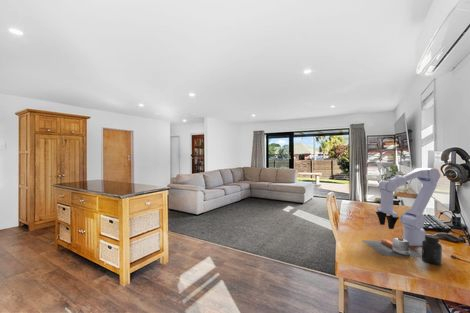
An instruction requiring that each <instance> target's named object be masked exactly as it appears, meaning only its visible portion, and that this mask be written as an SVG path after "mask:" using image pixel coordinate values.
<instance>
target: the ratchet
mask: <svg viewBox="0 0 470 313" xmlns="http://www.w3.org/2000/svg"><path fill="white" fill-rule="evenodd" d="M380 241H381V243H383V244H384V245H386V246H388V247H389V248H391V249H392V251H393V252H394V253H395V254H398V255H402V256H401V257H403V256H410V250H409V251H399V250H397V249H395V248H394V247H393V242H391V240H390V239H387V238H381V239H380Z"/></svg>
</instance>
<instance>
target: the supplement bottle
mask: <svg viewBox="0 0 470 313" xmlns="http://www.w3.org/2000/svg"><path fill="white" fill-rule="evenodd" d="M442 253H443V245H442V244H441V243H440V237H439V236H437V235H434V234H426V235H425V240H424V241H422V246H421V255H422V257H421V261H423V262H424V263H426V264H429V265H434V266H441V265H442V262H443V259H442V258H443V254H442Z"/></svg>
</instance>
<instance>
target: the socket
mask: <svg viewBox="0 0 470 313" xmlns="http://www.w3.org/2000/svg"><path fill="white" fill-rule="evenodd" d="M392 241H393V247H394V248H395V249H397V250H399V251H409V248H410V245H409V242H408V241H406V240H404V239H403V238H402V237H393V238H392Z"/></svg>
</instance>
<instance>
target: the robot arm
mask: <svg viewBox="0 0 470 313" xmlns="http://www.w3.org/2000/svg"><path fill="white" fill-rule="evenodd" d="M440 177H441V173H440V170H439V169H437V168H435V167H417V168H414V169H413V170H411V171H410V172H408V173H405V174H404V175H398V174H396V175H394V177H392V178H387V179H386V180H382V181H379V183H378V185H377V187H378V189H379V192H380V206H379V207H378V206H377V208H376V211H375V214H376V216H377V218H378V222H379V225H381V226H384V225H385V223H386V220H387V226H388V229H389V230H394V228H395V225H396V223H397V221H398V220H399V221H400V222H401V225H402V226H403V238H402V239H404V240H406V241H408V242H409V246H413V247H414V246H416V247H418V246H419V247H422V241H424V240H425V235H427V233H426V231H425V229H424V225H425V220H426V216H424V214H423V213H424V211H425V209H426V207H427V206H428V204H429V202H430V201H431V198H432V196H433V194H434V192H435V191H436V188H437V186H438V182H439V179H440ZM414 179H417V180H418V181H419V182H420V184H422V186H421V187H420V190H419V191H418V194H417V196H416V198H415V199H414V202H413V203H412V205H411V207H410V209H407V210H405V211H404V213H403V214H401V215H400V218H399V216H398V214H399V213H397V212H396V211H394V192H395V191H396V190H397V189H398V188H400V187H402V186H404V185H406V183H407V182H408V181H411V180H414Z"/></svg>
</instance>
